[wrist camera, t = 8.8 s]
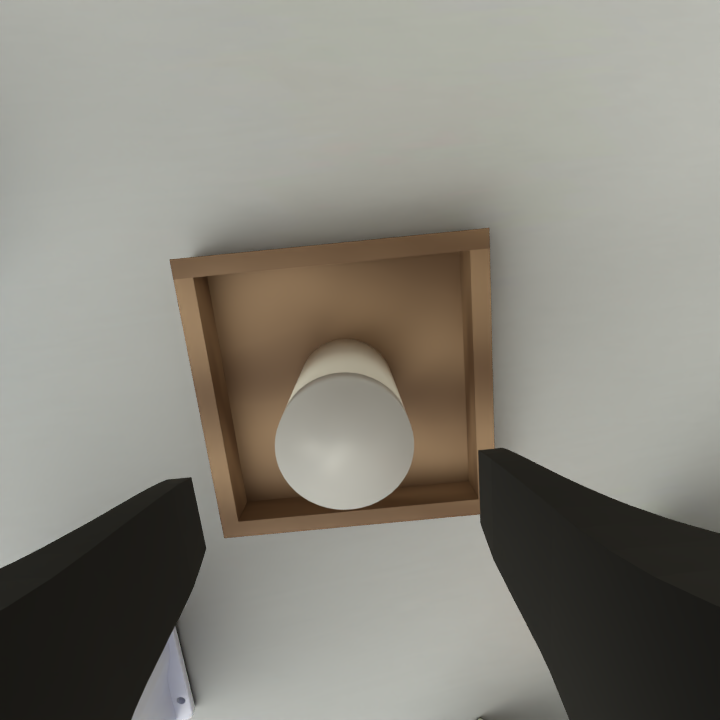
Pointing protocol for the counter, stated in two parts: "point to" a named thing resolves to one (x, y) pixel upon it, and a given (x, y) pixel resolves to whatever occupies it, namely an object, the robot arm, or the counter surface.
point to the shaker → (344, 429)
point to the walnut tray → (333, 322)
